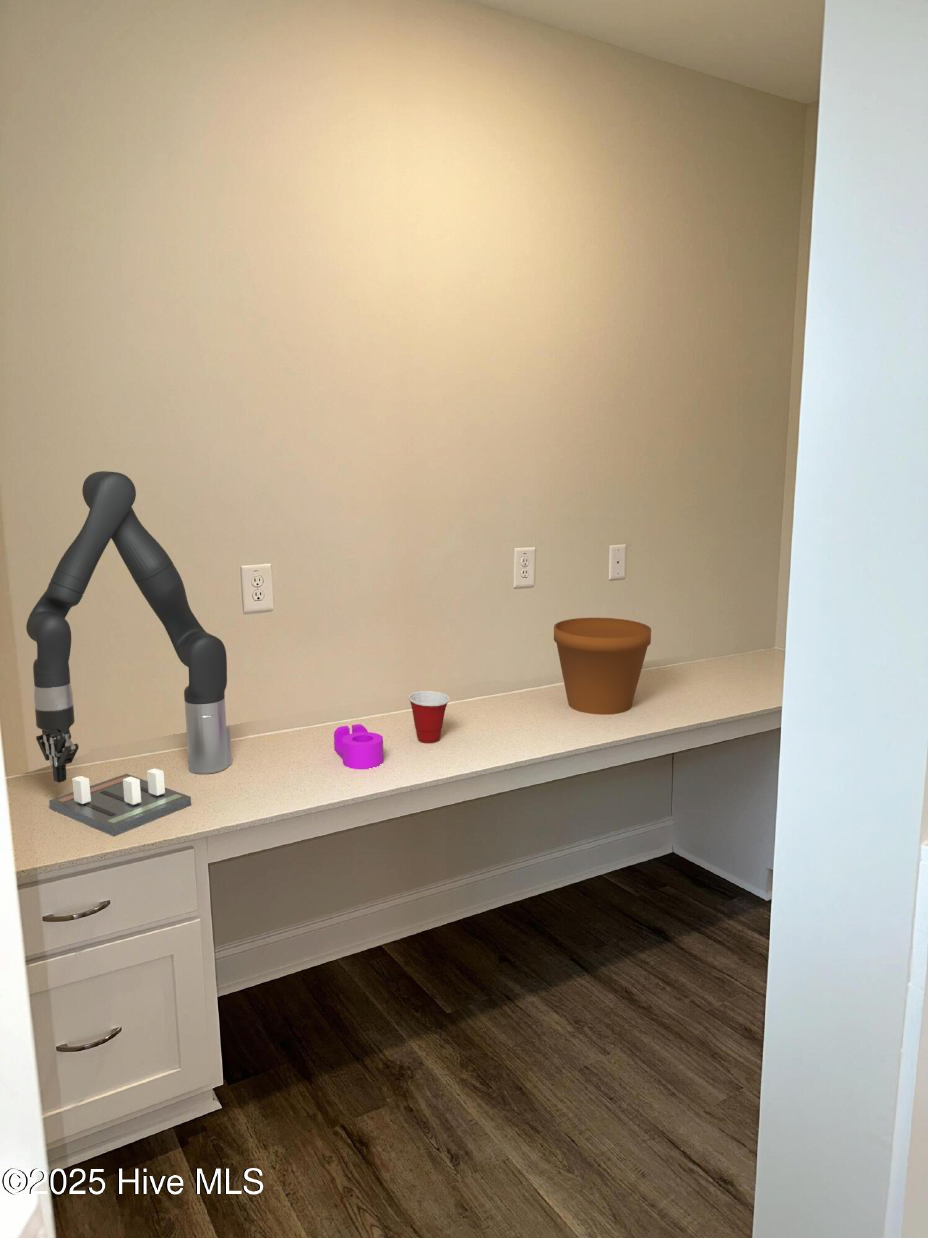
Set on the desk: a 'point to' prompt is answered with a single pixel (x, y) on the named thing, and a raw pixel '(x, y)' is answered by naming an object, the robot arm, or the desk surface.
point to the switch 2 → (155, 781)
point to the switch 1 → (81, 789)
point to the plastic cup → (428, 714)
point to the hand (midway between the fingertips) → (60, 781)
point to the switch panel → (119, 806)
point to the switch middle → (132, 790)
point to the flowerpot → (601, 662)
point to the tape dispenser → (358, 747)
